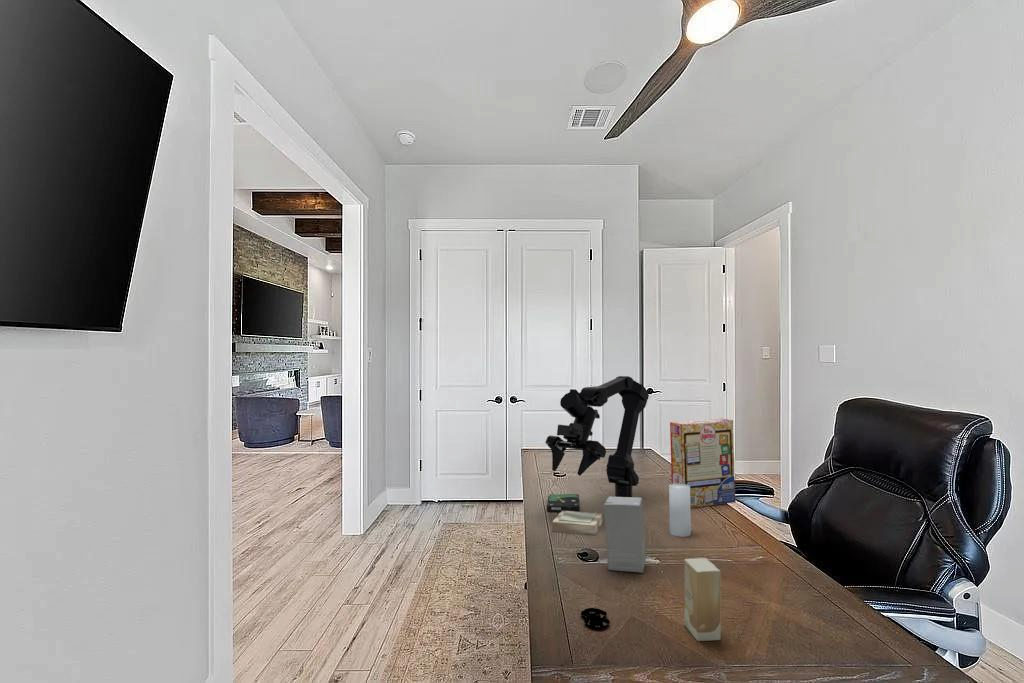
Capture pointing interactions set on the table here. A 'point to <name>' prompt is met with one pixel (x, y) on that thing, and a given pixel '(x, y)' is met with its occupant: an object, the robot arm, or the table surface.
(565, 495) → the disk drive
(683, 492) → the ceramic canister
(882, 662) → the table surface
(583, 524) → the square picture frame
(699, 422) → the board game box
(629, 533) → the skincare box
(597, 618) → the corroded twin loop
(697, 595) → the skincare box
